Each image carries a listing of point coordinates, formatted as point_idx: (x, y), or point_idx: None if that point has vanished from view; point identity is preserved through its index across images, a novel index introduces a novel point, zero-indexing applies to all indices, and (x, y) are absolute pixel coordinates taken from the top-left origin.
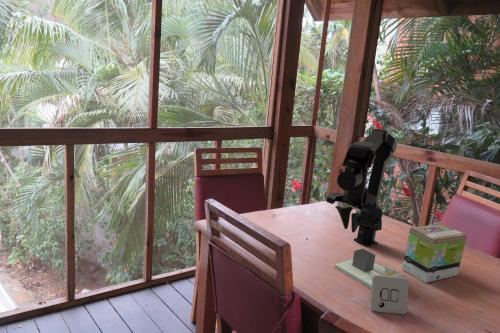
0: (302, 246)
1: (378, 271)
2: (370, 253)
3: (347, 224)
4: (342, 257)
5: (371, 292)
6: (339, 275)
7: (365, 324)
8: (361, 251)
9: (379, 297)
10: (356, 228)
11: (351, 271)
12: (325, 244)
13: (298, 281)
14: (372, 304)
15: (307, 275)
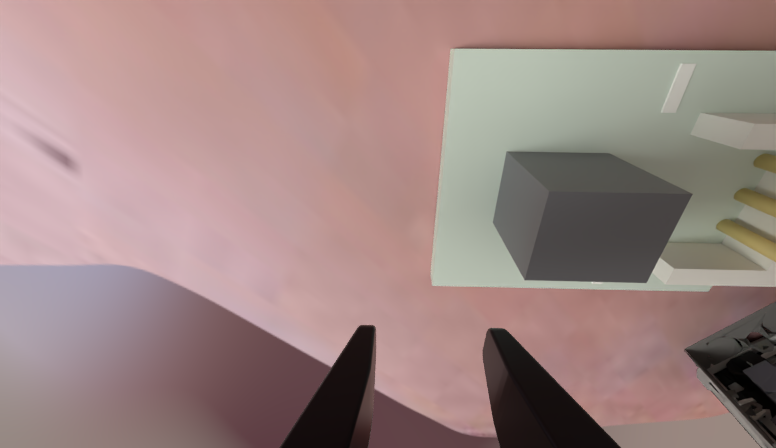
0: (173, 250)
1: (647, 142)
2: (644, 209)
3: (370, 386)
4: (363, 150)
5: (716, 385)
6: (489, 301)
7: (701, 417)
8: (569, 244)
9: (769, 407)
10: (543, 381)
11: None
12: (159, 102)
13: (431, 417)
14: (720, 394)
15: (418, 382)
